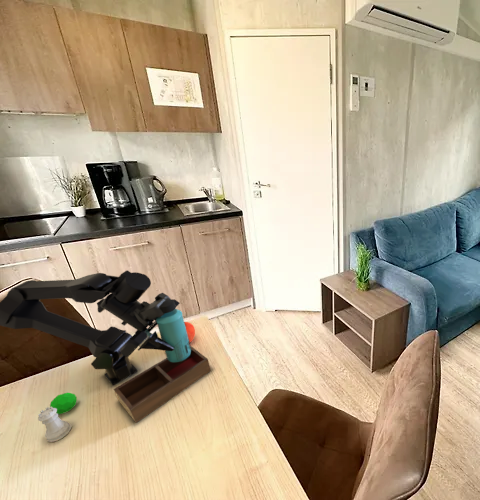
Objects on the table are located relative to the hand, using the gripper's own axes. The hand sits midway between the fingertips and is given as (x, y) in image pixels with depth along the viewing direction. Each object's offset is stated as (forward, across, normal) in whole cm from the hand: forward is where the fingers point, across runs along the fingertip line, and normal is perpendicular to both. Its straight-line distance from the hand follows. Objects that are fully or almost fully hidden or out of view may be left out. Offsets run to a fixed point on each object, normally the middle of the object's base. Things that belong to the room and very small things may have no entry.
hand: (179, 342), depth 81 cm
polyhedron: (-9, -12, +28) cm, 31 cm away
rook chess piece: (-6, -18, +25) cm, 31 cm away
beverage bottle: (+4, 0, +6) cm, 7 cm away
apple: (+3, +14, +15) cm, 21 cm away
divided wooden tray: (+6, -4, +12) cm, 14 cm away
